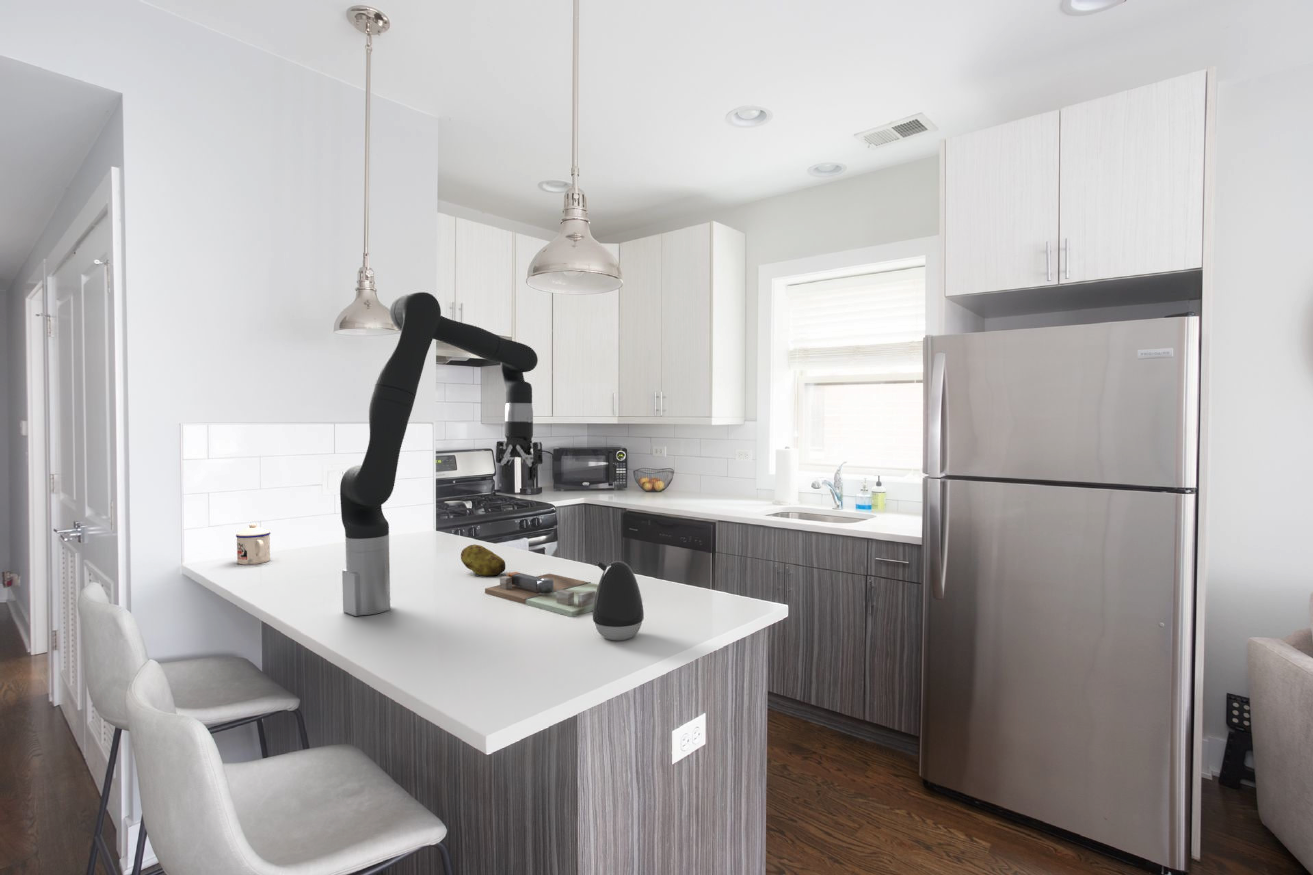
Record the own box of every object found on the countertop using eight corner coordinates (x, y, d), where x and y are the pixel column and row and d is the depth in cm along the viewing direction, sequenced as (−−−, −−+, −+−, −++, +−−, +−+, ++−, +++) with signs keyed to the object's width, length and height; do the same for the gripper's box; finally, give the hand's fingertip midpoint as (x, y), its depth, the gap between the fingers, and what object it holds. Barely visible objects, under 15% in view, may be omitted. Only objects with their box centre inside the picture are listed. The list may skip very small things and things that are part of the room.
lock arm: (544, 594, 164) (544, 581, 164) (505, 584, 174) (504, 572, 173) (557, 590, 167) (556, 578, 167) (517, 581, 177) (517, 569, 176)
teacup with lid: (232, 562, 211) (231, 524, 211) (264, 557, 218) (263, 520, 217) (245, 567, 203) (244, 528, 203) (278, 562, 210) (278, 524, 209)
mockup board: (571, 617, 152) (571, 599, 151) (484, 593, 172) (484, 577, 172) (636, 597, 168) (635, 581, 167) (549, 577, 188) (549, 563, 188)
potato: (485, 580, 186) (485, 550, 186) (456, 573, 194) (455, 545, 194) (509, 574, 193) (509, 546, 192) (480, 568, 200) (479, 541, 200)
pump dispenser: (616, 625, 146) (615, 553, 145) (654, 635, 139) (653, 560, 138) (581, 637, 138) (580, 562, 137) (620, 648, 131) (619, 569, 131)
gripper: (489, 420, 187) (489, 479, 188) (531, 420, 181) (530, 482, 181) (507, 420, 194) (507, 477, 194) (548, 420, 187) (548, 479, 188)
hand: (518, 479), depth 188 cm, fingers open, 8 cm apart
